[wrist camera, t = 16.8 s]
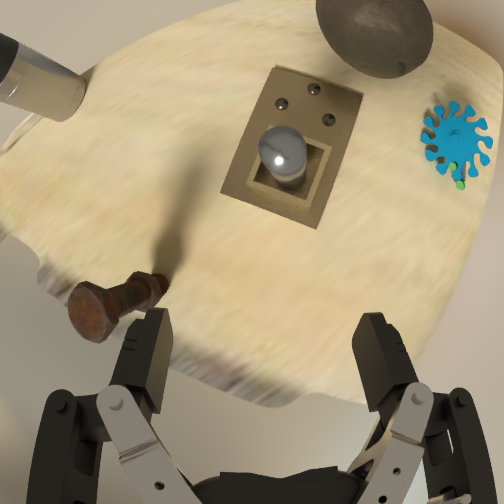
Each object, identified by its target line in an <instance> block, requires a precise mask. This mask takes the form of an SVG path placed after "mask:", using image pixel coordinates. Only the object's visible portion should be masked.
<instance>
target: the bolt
mask: <svg viewBox="0 0 504 504" xmlns="http://www.w3.org/2000/svg"><path fill="white" fill-rule="evenodd" d="M166 284H167V279H166V278H165V277H164V276H163V275H161V274H152V275H151V274H148V273H145V272H140V271H137V272H134V273H133V274H132V275H131V276H130V277H129V278H128V279H127V281H126V282H125V283H124V284H121V285H118V286H115V287H112V288H109V289H104V288H102V287H99V286H97V285H95V284H92V283H90V282H88V281H84V282H81V283H79V284H78V285H77V286H76V287H75V288H74V289H73V291H72V292H71V294H70V296H69V298H68V314H69V318H70V321H71V323H72V325H73V327H74V328H75V329H76V330H77V332H78V333H79V334H80V335H81V336H82V337H83V338H85V339H87V340H89V341H92V342H95V343H101V342H103V341H105V340H106V339H107V338H108V336H109V335H110V334H111V332H112V331H113V330H114V328H115V327H116V326H117V324H118V323H119V318H120V317H123V316H125V315H126V314H128V313H131V312H133V311H134V310H138V311H141V312H145V313H146V312H147V309H148V308H149V307H154V306H155V305H156V304H157V303H158V302H159V301H160V299H161V298H162V296H163V295H164V294H165V293H166V292H167V290H168V284H167V285H166Z"/></svg>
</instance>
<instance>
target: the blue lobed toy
mask: <svg viewBox="0 0 504 504" xmlns="http://www.w3.org/2000/svg"><path fill="white" fill-rule="evenodd" d="M449 107H450V113H449V116H448V118H447V119H443V114H444V108H443V107H442V106H441V105H439V106H435V107H434V111H435V113H436V114H437V115H438V118H439V127H437V128H435V127H434V121H433V119H432V118H430V117H429V116H428V117H427V118H426V119H425V120H424V121H423V123H424V124H425V125H426V126H427V127H429V128H431V129H433V131H434V132H435V134H436V138H435V139H434V140H431V138H430V136H429V135H428V134H426V133H422V136H421V142H423V143H425V144H430V143H431V144H434V145H436V146H437V147H438V152H437V153H433V152H432V151H430V150H426V151H425V155H426V159H427V160H428V161H433V160H434V159H435V158H437V157H446V163H445V164H437V165H436V169H437V171H438V172H439V173H440V174H441V175H444V174H445V173H446V170H447V168H448V167H449V169H450V170H451V171H453V172H452V174H451V176H452V177H453V180H454V181H455V182H456V187H457V188H458V189H460V190H464V189H465V183H464V182H465V168H466V161H469V162H470V168H469V170H468V175H469V176H470V177H477V176H478V171H477V169H476V168H475V165H474V154H475V153H478V154H480V162H481V164H482V165H483V166H486V165H488V164H489V162H490V159H489V157H488V156H487V155H485V154H483V153H482V152H481V151H480V149H479V148H478V145H477V143H478V141H480V140H481V141H483V142H484V144H485V146H486V147H487V148H489V149H491V148H492V145H493V139H492V138H491V137H489V136H486V137H483V136H480V135H478V134H477V133H475V132H474V129H475V128H476V127H479V128H481V129H483V130H487V129H488V127H487V123H486V121H485V119H484V118H480V119H479V120H478V121H476V122H466V117H468V116H474V115H475V114H476V113H475V111H474V109H473V108H472V107H471V106H470V105H467V106H466V107H465V111H464V113H463V114H462V115H461V116H459V117H454V113H455V112H457V111H458V110H459V108H460V107H459V104H458V103H456V102H454V101H450V102H449Z"/></svg>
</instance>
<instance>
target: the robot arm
mask: <svg viewBox="0 0 504 504" xmlns="http://www.w3.org/2000/svg"><path fill="white" fill-rule="evenodd" d="M85 89H86V83H85V80H84V79H83V78H82V77H81V76H79V75H77V74H76V73H74V72H72V71H71V70H69V69H67V68H66V67H64V66H62V65H60V64H59V63H57V62H55V61H53V60H51V59H50V58H48V57H46V56H44V55H42V54H41V53H39V52H37V51H35V50H33V49H31V48H29V47H27V46H25V45H23V44H22V43H20V42H18V41H16V40H14V39H12V38H10V37H7V36H5V35H3V34H1V33H0V102H3V103H6V104H9V105H13V106H15V107H18V108H21V109H24V110H27V111H30V112H33V113H35V114H38V115H41V116H43V117H46V118H49V119H52V120H54V121H58V122H61V121H64V120H66V119H67V118H69V117H70V116H71V115H72V114H73V113H74V112H75V111H76V109H77V108H78V106H79V105H80V103H81V101H82V99H83V96H84V93H85ZM124 339H125V340H124V341H123V344H122V349H121V350H120V354H119V356H118V360H117V363H116V366H115V369H114V372H113V376H112V379H111V382H110V384H109V385H108V386H107V387H105V388H104V389H102V390H101V391H100V393H98V394H95V395H87V396H74V395H73V394H72V393H71V392H69V391H67V390H64V389H60V390H56V391H54V392H52V393H51V394H50V395H49V397H48V398H47V401H46V404H45V407H44V411H43V415H42V419H41V422H40V426H39V430H38V435H37V439H36V444H35V448H34V453H33V458H32V464H31V470H30V476H29V483H28V491H27V500H26V504H96V501H97V488H98V478H99V468H100V460H101V453H102V446H103V442H108V441H113V443H114V445H115V447H116V449H117V451H118V453H119V456H120V458H119V460H120V463H121V465H122V467H123V469H124V471H125V473H126V475H127V476H128V478H129V480H130V481H131V483H132V485H133V486H134V488H135V489H136V491H137V493H138V494H139V496H140V497H141V499H142V500H143V502H144V503H145V504H402V502H403V500H404V498H405V496H406V494H407V492H408V490H409V488H410V485H411V483H412V481H413V478H414V476H415V474H416V472H417V469H418V467H419V464H420V461H421V459H423V464H424V470H425V477H426V483H427V489H428V498H429V501H428V502H427V504H498V503H497V495H496V489H495V483H494V477H493V472H492V467H491V462H490V458H489V453H488V449H487V445H486V442H485V437H484V434H483V430H482V427H481V424H480V420H479V417H478V414H477V411H476V407H475V405H474V402H473V399H472V397H471V394H470V393H469V392H468V391H467V390H466V389H464V388H455V389H453V390H452V391H451V392H450V393H449V394H443V393H434V392H432V391H431V390H430V388H429V387H428V386H426V385H425V384H423V383H420V382H419V380H418V378H417V376H416V373H415V370H414V368H413V365H412V363H411V360H410V358H409V355H408V353H407V352H406V348H405V346H404V344H403V341H402V338H401V336H400V334H399V332H398V331H397V330H396V329H395V327H394V326H393V325H392V324H387V322H386V320H385V318H384V316H383V314H382V313H381V312H374V313H364V314H363V315H362V317H361V319H360V322H359V324H358V326H357V328H356V330H355V332H354V335H353V338H352V349H353V352H354V356H355V359H356V363H357V366H358V370H359V374H360V377H361V381H362V385H363V388H364V392H365V396H366V400H367V404H368V408H369V412H375V411H379V414H380V416H379V417H378V419H377V421H376V423H375V425H374V427H373V429H372V431H371V433H370V435H369V437H368V439H367V441H366V443H365V445H364V447H363V449H362V450H361V452H360V454H359V455H358V456H357V458H356V459H355V460H354V461H353V462H352V464H351V465H350V467H349V468H348V470H347V472H344V471H338V467H337V466H333V467H326V468H319V469H310V470H307V471H304V472H301V473H298V474H295V475H292V476H289V477H285V478H274V477H268V476H263V475H258V474H253V473H234V472H220V476H216V477H212V478H208V479H206V480H203V481H201V482H199V483H197V484H195V485H194V486H193V485H192V483H191V482H190V481H189V480H188V478H187V477H186V476H185V474H184V473H183V472H182V470H181V469H180V468H179V466H178V465H177V463H176V462H175V461H174V459H173V458H172V457H171V455H170V454H169V452H168V451H167V449H166V448H165V446H164V444H163V443H162V441H161V440H160V438H159V437H158V435H157V434H156V432H155V430H154V428H153V427H152V425H151V424H150V422H151V416H152V413H154V414H160V411H161V405H162V399H163V393H164V388H165V382H166V377H167V371H168V366H169V361H170V356H171V351H172V346H173V331H172V326H171V322H170V317H169V312H168V309H167V308H157V307H149V308H148V309H147V312H146V315H145V318H144V319H136V320H135V321H134V322H133V323H132V324H131V325H130V326H129V327H128V330H127V333H126V335H125V338H124ZM447 430H449V433H450V437H451V441H452V446H453V454H452V449H451V445H450V441H449V436H448V432H447Z"/></svg>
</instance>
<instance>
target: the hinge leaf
mask: <svg viewBox="0 0 504 504" xmlns="http://www.w3.org/2000/svg"><path fill="white" fill-rule="evenodd" d="M361 101H362V96H360V95H357V94H355V93H352V92H350V91H347V90H344V89H342V88H339V87H336V86H333V85H330V84H328V83H325V82H322V81H319V80H315V79H312V78H309V77H306V76H302V75H299V74H296V73H292V72H288V71H285V70H281V69H277V68H272V70H271V72H270V74H269V76H268V78H267V81H266V83H265V85H264V87H263V90H262V92H261V94H260V96H259V99H258V101H257V103H256V105H255V108H254V110H253V112H252V115H251V117H250V119H249V122H248V124H247V126H246V129H245V131H244V134H243V136H242V138H241V141H240V143H239V146H238V148H237V151H236V153H235V156H234V158H233V161H232V163H231V166H230V168H229V171H228V173H227V176H226V178H225V181H224V183H223V186H222V189H221V191H220V193H222V194H225V195H228V196H230V197H233V198H236V199H238V200H241V201H244V202H247V203H249V204H252V205H254V206H257V207H260V208H262V209H265V210H268V211H270V212H273V213H275V214H278V215H281V216H283V217H286V218H288V219H291V220H293V221H296V222H298V223H301V224H303V225H306V226H308V227H311V228H313V229H317V226H318V223H319V221H320V218H321V216H322V213H323V210H324V208H325V205H326V202H327V200H328V197H329V194H330V192H331V189H332V186H333V183H334V181H335V178H336V175H337V172H338V170H339V167H340V164H341V161H342V158H343V155H344V152H345V150H346V147H347V144H348V141H349V138H350V135H351V132H352V129H353V126H354V123H355V120H356V116H357V113H358V110H359V107H360V104H361ZM276 126H289V127H292V128H294V129H296V130H297V131H298V132H299V133H300V134H301V135H302V136H303V138H304V140H305V142H306V179H305V181H304V183H303V184H302V185H301V186H300V187H299V188H296V189H285V188H283V187H281V186H280V185H279V184H278V182H277V181H276V180H275V178H274V177H273V175H272V174H271V173H270V171H269V170H268V169H267V167H266V166H265V165H264V163H263V162H262V160H261V159H260V157H259V153H258V144H259V141H260V138H261V137H262V135H263V134H264V133H265V132H266V131H267V130H269V129H271V128H273V127H276Z"/></svg>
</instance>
